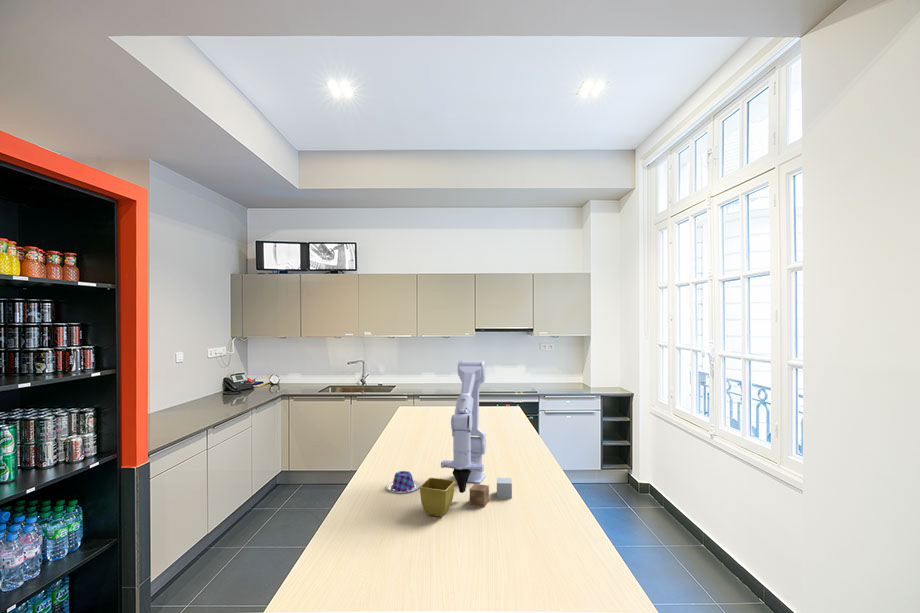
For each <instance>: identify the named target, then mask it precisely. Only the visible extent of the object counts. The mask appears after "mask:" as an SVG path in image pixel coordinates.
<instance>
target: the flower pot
mask: <svg viewBox="0 0 920 613" xmlns="http://www.w3.org/2000/svg"><path fill="white" fill-rule="evenodd" d="M455 486H456V481H455V480H453V479H444V478H438V477H429V478H428V479H427V480H425V481H424V483H422V484H420V487H419V493H420V502H421V506H422V509H423V510H424V512H425V513H426V515H429V516H435V517H441V518H442V517H443V516H445V515H446V513H447V512H448V510H450V506H451V504H452V503H453V499H454V496H455V494H454V493H455Z"/></svg>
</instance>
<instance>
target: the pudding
mask: <svg viewBox="0 0 920 613" xmlns="http://www.w3.org/2000/svg"><path fill="white" fill-rule="evenodd" d="M392 483H393V485H392V487H391V489H395V490H396V491H399V492H396V493H397V494H398V493H403V494H405V492H406V491H407V490H408V492H407V493H410V492H414V491H416V490H418V489H420V486H421V484H420V483H419V482H418V481H416V480H414V479H413V475H412V473H411V472H410V471H407V470H400V471H398V472H396V473H394V477H393V480H392V481H391V482H389V483H388V484H387V485H386V486H385V488H386V490H387V491H389V492H392V493H395V492H394V491H395V490H393V491H391V490H389V489H388V487H389V485H391V484H392ZM414 484H415V485H416V488H415V486H414ZM412 489H413V490H412ZM410 490H411V491H410ZM402 491H405V492H402Z"/></svg>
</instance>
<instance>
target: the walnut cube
mask: <svg viewBox="0 0 920 613" xmlns="http://www.w3.org/2000/svg"><path fill="white" fill-rule="evenodd" d="M489 502H490V486H489V485H488V484H480V483H474V484H473V485H471V487H470V488H469V506H470V507H471V506H472V507H479V508H486V507H487V504H488V503H489Z"/></svg>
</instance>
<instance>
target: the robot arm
mask: <svg viewBox="0 0 920 613" xmlns="http://www.w3.org/2000/svg"><path fill="white" fill-rule="evenodd" d="M457 375H458V377H459V380H460V381H461V393H460V395H458V396H457V398H456V402H455V403H456V404H455V409H454V414H452V415H451V417H450V418H451V420H450V428H451V435H452V438H453V439H452V440H453V441H452V442H453V446H452V447H453V449H452V450H453V454H452V456H453V460H444V459H443V460H441V462H440V469H445V468H448V469H453V470H452V475H453V477H454V479H455V480H456V481H455V482H456V484H457V487H458V490H459V493H462V494H463V493H465V492H466V488H467V484H468V483H474V484H480V483H481V482H482V481H483V480H484V478H486V476H487V475H486V474H483V473H484V470H485V464H483V455H485V454H486V452H487V438H486V437H487V436H486V433H485V431H483V430H482V429H481V428H480V427H479V424H480V423H479V422H480V421H479V419H480V418H479V416H480V414H479V412H480V387H481V385H482V384H484V383H485V382H486V381H485V380H486V362H485V361H484V360H459V361H458V363H457Z"/></svg>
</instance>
